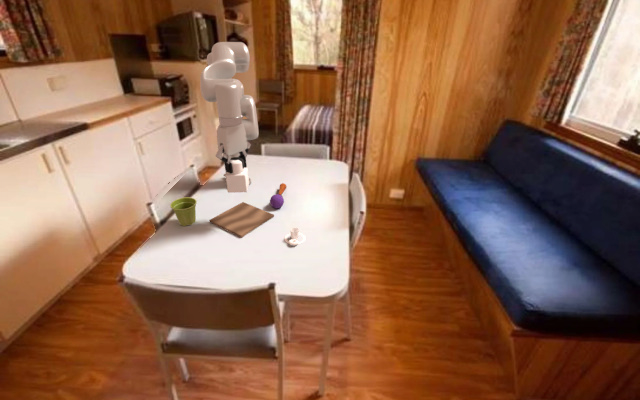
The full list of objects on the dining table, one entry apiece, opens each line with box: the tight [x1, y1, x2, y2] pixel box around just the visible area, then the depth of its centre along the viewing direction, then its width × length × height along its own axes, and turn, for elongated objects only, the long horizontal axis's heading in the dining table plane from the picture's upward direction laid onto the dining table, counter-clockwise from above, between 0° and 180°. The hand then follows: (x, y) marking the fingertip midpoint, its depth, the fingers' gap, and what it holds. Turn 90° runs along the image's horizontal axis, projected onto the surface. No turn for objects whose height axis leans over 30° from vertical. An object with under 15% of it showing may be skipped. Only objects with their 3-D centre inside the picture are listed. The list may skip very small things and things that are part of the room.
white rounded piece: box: [283, 227, 307, 247], centre depth 113 cm, size 9×8×4 cm
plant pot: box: [169, 196, 198, 227], centre depth 120 cm, size 9×9×9 cm
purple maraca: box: [269, 182, 287, 209], centre depth 139 cm, size 6×6×20 cm
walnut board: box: [209, 201, 275, 238], centre depth 125 cm, size 18×18×1 cm
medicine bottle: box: [225, 157, 250, 194], centre depth 115 cm, size 7×7×12 cm
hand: (236, 168), depth 114 cm, fingers closed on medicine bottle, 6 cm apart
